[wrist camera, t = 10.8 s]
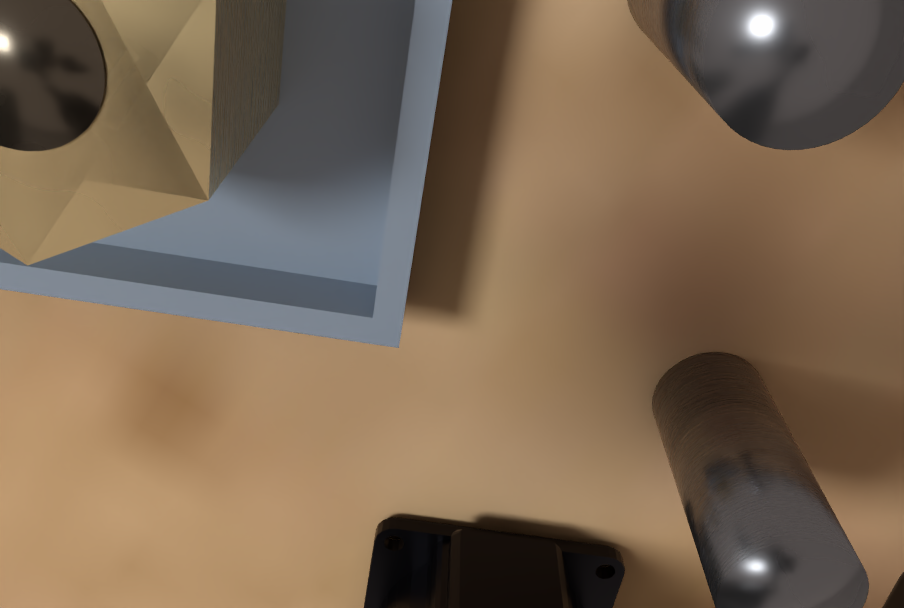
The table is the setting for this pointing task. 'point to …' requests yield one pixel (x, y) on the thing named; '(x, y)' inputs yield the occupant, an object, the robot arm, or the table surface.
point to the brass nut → (125, 111)
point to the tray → (294, 192)
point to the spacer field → (727, 376)
